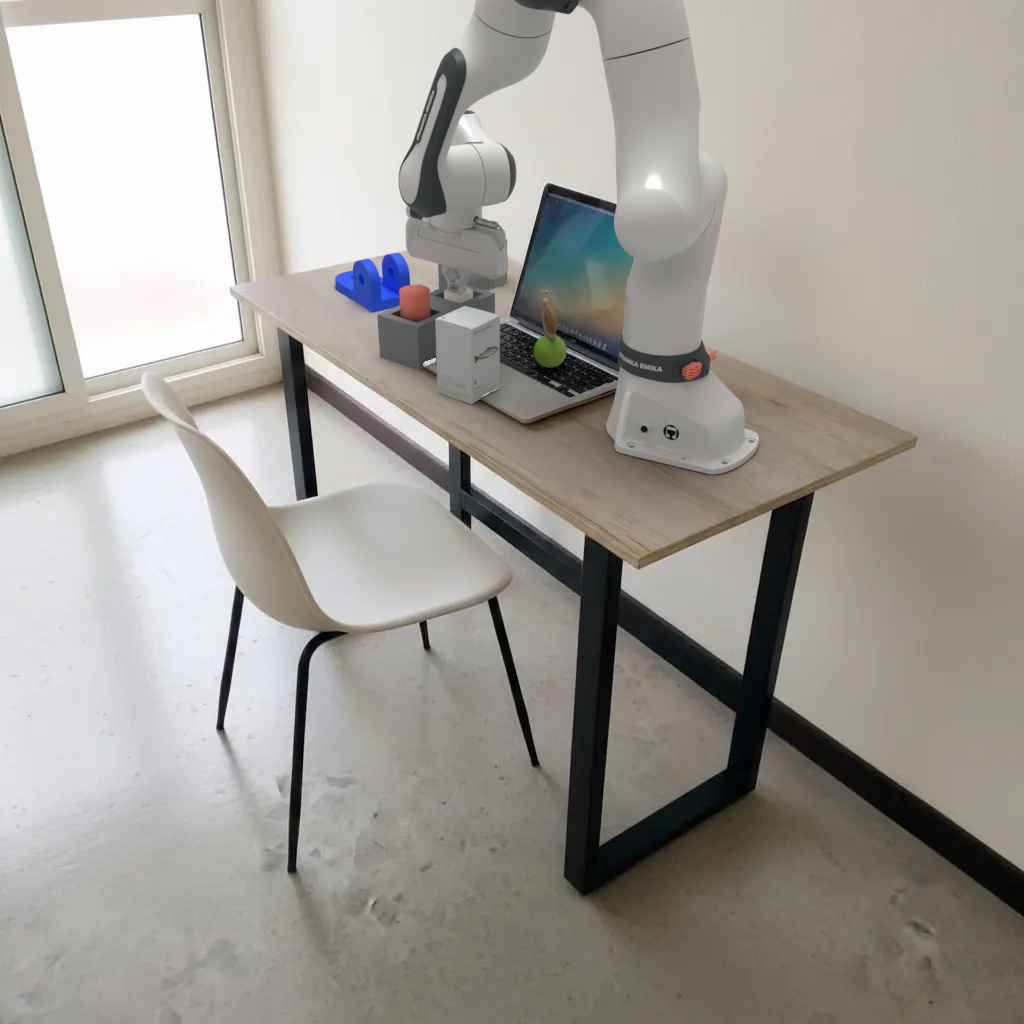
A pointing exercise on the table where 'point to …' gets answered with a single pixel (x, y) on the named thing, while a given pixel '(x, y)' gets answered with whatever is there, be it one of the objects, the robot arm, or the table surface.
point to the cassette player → (475, 280)
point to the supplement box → (467, 353)
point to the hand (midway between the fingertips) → (457, 291)
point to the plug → (458, 296)
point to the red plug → (415, 302)
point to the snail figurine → (549, 339)
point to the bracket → (375, 282)
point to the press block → (422, 328)
